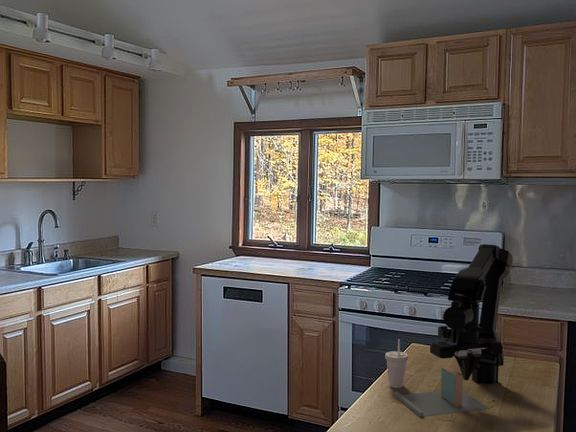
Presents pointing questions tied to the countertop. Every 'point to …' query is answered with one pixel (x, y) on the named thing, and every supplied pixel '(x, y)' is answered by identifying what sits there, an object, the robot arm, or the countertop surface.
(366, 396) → the countertop surface
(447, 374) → the tile
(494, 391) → the countertop surface
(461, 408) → the slate board
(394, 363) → the smoothie
